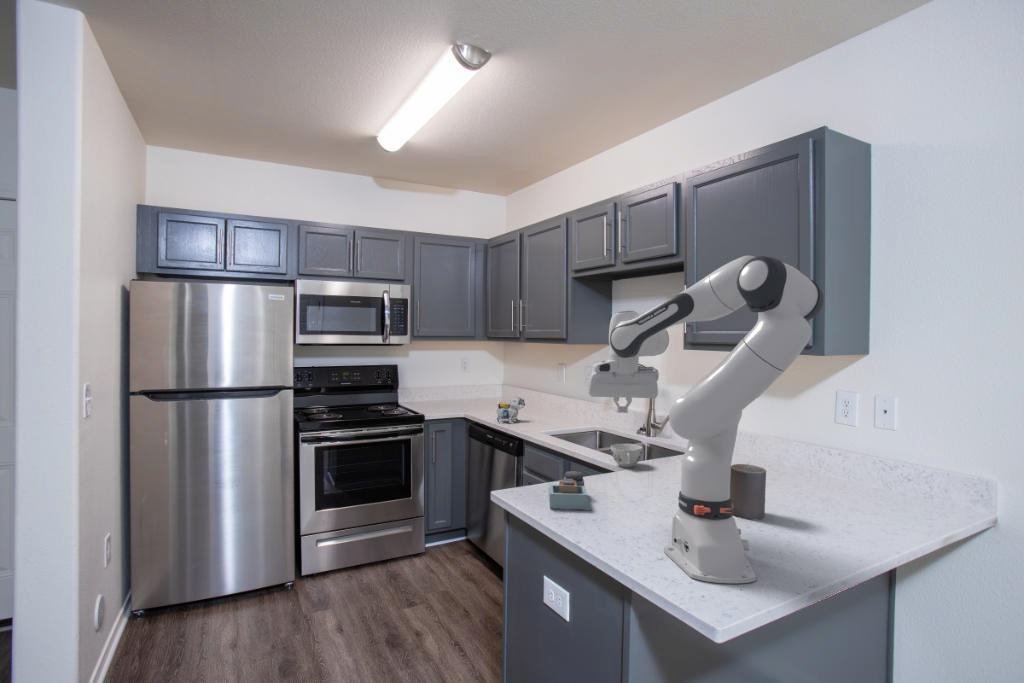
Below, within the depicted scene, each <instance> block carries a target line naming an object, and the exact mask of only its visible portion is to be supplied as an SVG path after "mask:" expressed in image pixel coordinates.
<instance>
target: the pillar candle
mask: <svg viewBox="0 0 1024 683" xmlns="http://www.w3.org/2000/svg"><path fill="white" fill-rule="evenodd" d="M766 481H767V470H766V469H765V468H764V467H761V466H757V465H753V464H749V463H747V464H744V463H735V464H731V478H730V497H731V498H732V503H733V517H737V518H739V517H740V519H744V518H745V520H750V519H758V520H762V518H763V519H764V518H765V511H766V490H767V489H766V485H767V484H766V483H767V482H766Z"/></svg>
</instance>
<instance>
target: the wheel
mask: <svg viewBox="0 0 1024 683" xmlns="http://www.w3.org/2000/svg"><path fill="white" fill-rule="evenodd" d="M564 474H565V476H564V477H565V478H566V479H573V480H575V481H577V480H582V479H583V480H584V472H582V471H577V470H571V471H570V470H569V471H565V473H564Z"/></svg>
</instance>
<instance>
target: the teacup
mask: <svg viewBox="0 0 1024 683" xmlns="http://www.w3.org/2000/svg"><path fill="white" fill-rule="evenodd" d="M643 447H644V446H642V445H639V444H635V443H633V444H632V443H627V442H626V443H616V444H611V445H610V451H611V455H612V458H613V459H614V461H615V463H616V464H617V465H618V466H619V467H621V468H628V469H629V468H634V467H635V466H636V464H638V462H639V461H640V460H641V457H642V454H643V449H644V448H643Z"/></svg>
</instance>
